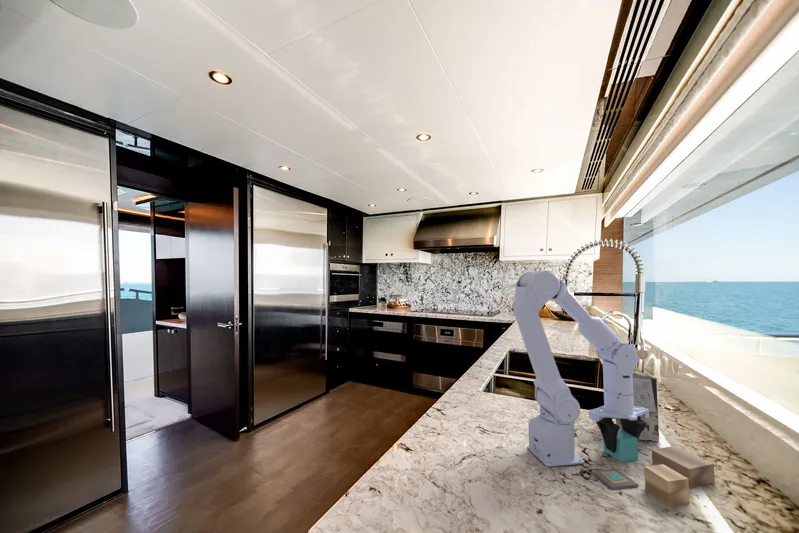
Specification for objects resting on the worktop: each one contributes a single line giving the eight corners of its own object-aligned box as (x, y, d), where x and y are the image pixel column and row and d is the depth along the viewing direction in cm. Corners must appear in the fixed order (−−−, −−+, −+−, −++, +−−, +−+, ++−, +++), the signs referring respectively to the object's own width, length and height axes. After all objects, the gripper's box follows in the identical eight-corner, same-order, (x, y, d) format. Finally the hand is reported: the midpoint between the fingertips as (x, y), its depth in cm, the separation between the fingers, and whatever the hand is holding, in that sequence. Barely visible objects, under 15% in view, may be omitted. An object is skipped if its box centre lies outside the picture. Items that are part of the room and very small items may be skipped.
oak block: (669, 506, 54) (667, 481, 54) (645, 489, 58) (644, 466, 59) (689, 504, 54) (688, 478, 55) (664, 487, 59) (663, 464, 59)
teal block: (620, 462, 67) (619, 439, 67) (603, 450, 72) (603, 429, 72) (638, 460, 68) (637, 438, 68) (620, 449, 72) (619, 428, 73)
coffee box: (660, 442, 75) (658, 378, 76) (632, 439, 77) (630, 377, 78) (639, 425, 84) (637, 368, 85) (614, 423, 86) (612, 367, 87)
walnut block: (690, 489, 58) (689, 469, 59) (652, 468, 65) (651, 449, 65) (714, 483, 60) (713, 463, 60) (675, 463, 67) (674, 445, 67)
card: (612, 489, 58) (611, 485, 58) (592, 473, 63) (592, 469, 63) (638, 486, 59) (638, 482, 59) (616, 470, 64) (616, 467, 64)
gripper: (605, 399, 66) (607, 461, 65) (661, 395, 68) (663, 456, 67) (581, 388, 72) (583, 444, 72) (632, 385, 75) (634, 440, 74)
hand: (620, 449), depth 70 cm, fingers closed on teal block, 5 cm apart
